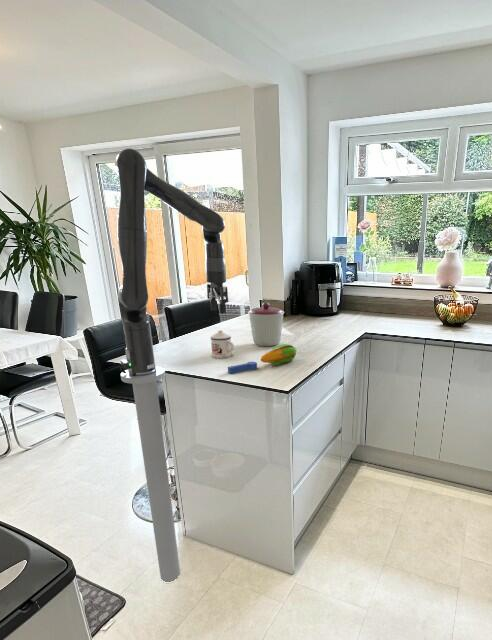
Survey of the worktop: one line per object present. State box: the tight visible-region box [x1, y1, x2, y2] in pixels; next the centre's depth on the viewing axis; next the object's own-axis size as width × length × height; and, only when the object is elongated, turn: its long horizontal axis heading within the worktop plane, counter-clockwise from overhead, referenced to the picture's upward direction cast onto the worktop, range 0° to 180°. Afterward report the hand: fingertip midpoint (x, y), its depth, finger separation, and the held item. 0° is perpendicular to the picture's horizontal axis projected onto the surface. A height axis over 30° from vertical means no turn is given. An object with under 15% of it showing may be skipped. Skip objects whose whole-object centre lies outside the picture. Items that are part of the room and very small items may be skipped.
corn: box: [260, 343, 298, 366], centre depth 169 cm, size 7×8×20 cm
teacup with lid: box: [210, 329, 235, 359], centre depth 178 cm, size 12×9×12 cm
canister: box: [247, 301, 285, 347], centre depth 199 cm, size 18×18×21 cm
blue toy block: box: [227, 361, 258, 375], centre depth 160 cm, size 12×4×2 cm, turn 127°
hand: (218, 311), depth 159 cm, fingers open, 8 cm apart
